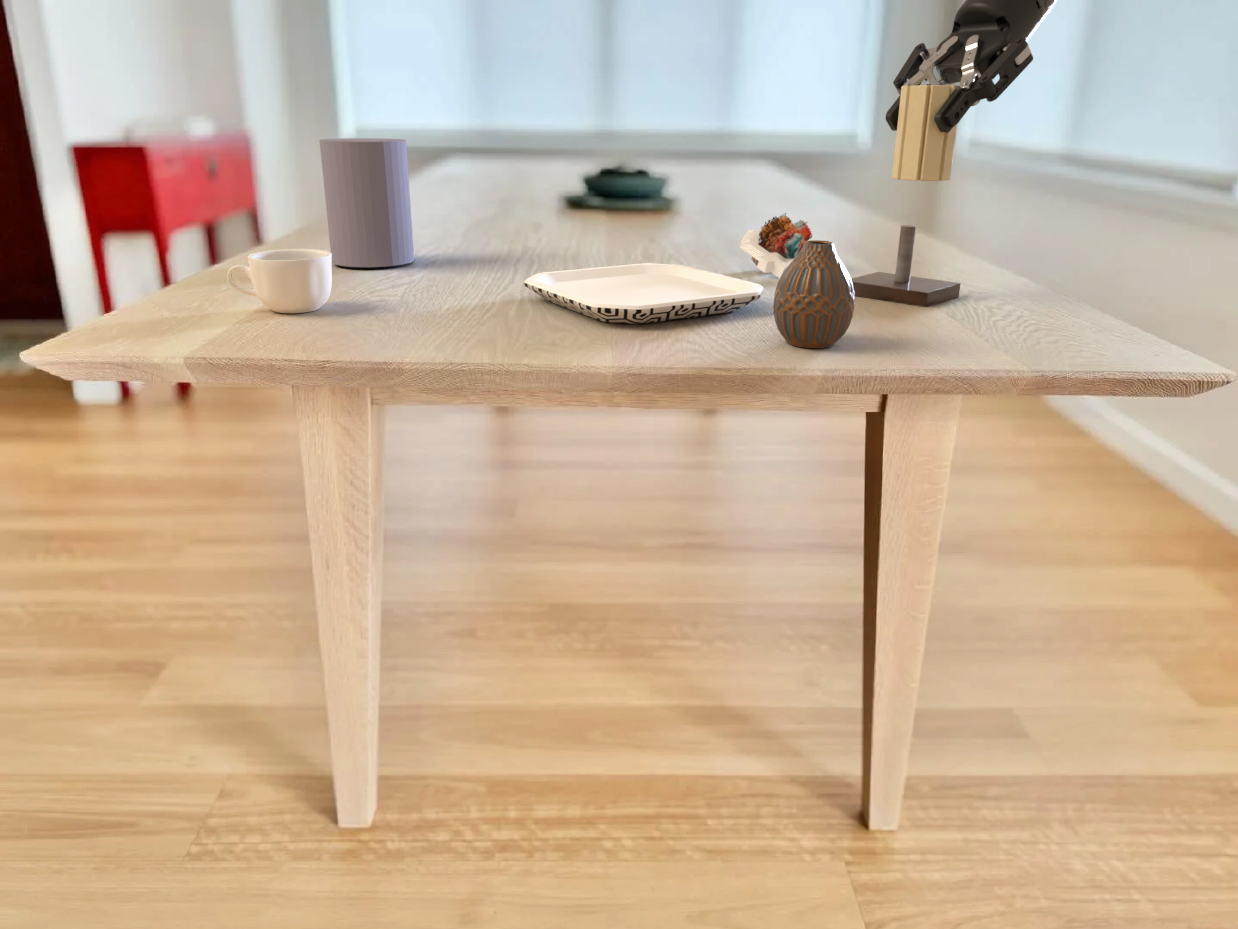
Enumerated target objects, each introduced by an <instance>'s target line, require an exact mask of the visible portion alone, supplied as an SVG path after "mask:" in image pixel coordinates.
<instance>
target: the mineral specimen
mask: <svg viewBox="0 0 1238 929" xmlns="http://www.w3.org/2000/svg"><path fill="white" fill-rule="evenodd" d="M811 230H812V228H810V227H809V224H808V221H806V220H803V219H798V221H796V222H792V219H791V218H790V217H789V216H787V212H785V213H783V214H782V215H780V216H776V215H775V216H772V218H771V219H768V220H767V222H766V221H765V222H764V225H763V226H761V228H760V229H748V230H747V231H746V233H745V235H744V236H743V237H742V239H741V241H739V244H740V245H739V248H740V249H741V250H743V251H744V252H745V253H747V254H748V255H750V256H751V257H750V259H751V261H752V262H753V264H754V265H755V266H756V269H758V270H759V271H761V273H764V274H769V273H770V274H773V275H774V276H775V277H776V278H778V280H779V279H780V277H781V275H782V273H783V272H784V270H785V269H786V268H787V267H788V266H789V264H790V263H791V262H792V261H793V260H794V259H795V257H796V256H797V255H798V254H799V252H800V251H801V249H802V247H803V245H804V243H805V242H806V241H810V240H811V239H812V238H813V234H812V231H811Z"/></svg>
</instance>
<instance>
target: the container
mask: <svg viewBox="0 0 1238 929" xmlns="http://www.w3.org/2000/svg"><path fill="white" fill-rule="evenodd" d="M319 150H320V159H321V161H320V162H321V169H322V180H323V187H324V188H323V189H324V190H323V191H324V200H325V209H326V218H327V220H326V221H327V230H328V239H329V247H330V252H331V254H332V264H333V265H336V266H337V267H339V268H343V269H351V270H386V269H395V268H401V267H405V266H408V265H410V264H411V263H413V262H414V261H415V252H414V236H413V220H412V207H411V206H412V205H411V192H410V177H409V176H410V175H409V164H408V163H409V162H408V150H407V139H401V138H378V137H377V138H375V137H373V138H368V137H367V138H365V137H363V138H362V137H357V138H355V137H354V138H353V137H351V138H347V137H346V138H322V139H319Z"/></svg>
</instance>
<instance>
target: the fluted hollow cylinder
mask: <svg viewBox="0 0 1238 929" xmlns="http://www.w3.org/2000/svg"><path fill="white" fill-rule="evenodd" d="M954 90H960V87H959V85H953V84H951V85H927V84H926V85H925V84H924V85H923V84H920V85H913V86H902V87H901V97H900V106H899V115H898V125H897V131H896V133H895V134H896V135H895V144H894V145H895V146H894V153H893V164H892V172H891V179H893V180H900V181H913V182H917V181H920V182H938V181H939V182H944V181H951V176H952V169H953V161H954V153H955V144H956V135H957V129H958V124H956V125H955V126H954V127H953V128H952V129H951V130H950V132H948V133H945V132H940V130H939V129H938V127H937V125H936V123H935V121H934V117H935V115H936V113H937V112H938V111H939V109H940V108H941V107H942V105H943V104H944V103H945V102H946V100H947V99H948V98H949V96H950V95H951V94H952V92H953V91H954Z"/></svg>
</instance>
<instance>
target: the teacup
mask: <svg viewBox="0 0 1238 929" xmlns="http://www.w3.org/2000/svg"><path fill="white" fill-rule="evenodd" d="M247 262H248V265H244V264H236V265H235V264H234V265H233V266H231V267H230V268H229V269H228V271H227V274H226V280H227V282H228V285H229V286H230V287H231V288H232V289H234V290H235V291H237V292H239V293H241V294H245V295H249V296H253V297H256V298H258V299H259V301H260V302H261V303H262V304H263V305H264V306H265V307H266V308H268V309H269V310H271V311H273V312H275V313H278V314H303V313H309V312H310V313H311V312H314V311H317V310H319V309H320V308H321V307H323V306H324V305H325V304H326V303H327V301H328V300H329V298H330V296H331V293H332V287H333V286H332V285H333V269H332V268H333V266H332V264H333V263H332V254H331V251H329V250H325V249H317V248H284V249H272V250H263V251H258V252H253V253H250V254H248V255H247ZM235 271H240V272H242V273H244V274H245V275H246V276H247V277H248V279H249V280H250V281H251V283H252V287H253V288H245V287H241V286H239V285H237V284H236V283H235V282H234V281H233V274H234V273H233V272H235Z"/></svg>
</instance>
